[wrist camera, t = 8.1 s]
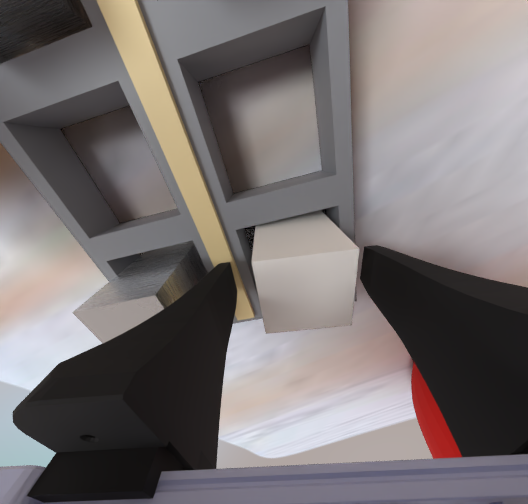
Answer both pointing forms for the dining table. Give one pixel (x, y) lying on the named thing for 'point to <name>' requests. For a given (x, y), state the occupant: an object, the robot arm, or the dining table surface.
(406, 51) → the dining table surface
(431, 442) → the ceramic cup
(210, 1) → the peg board
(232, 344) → the dining table surface
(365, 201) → the dining table surface
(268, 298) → the cream rectangular block
